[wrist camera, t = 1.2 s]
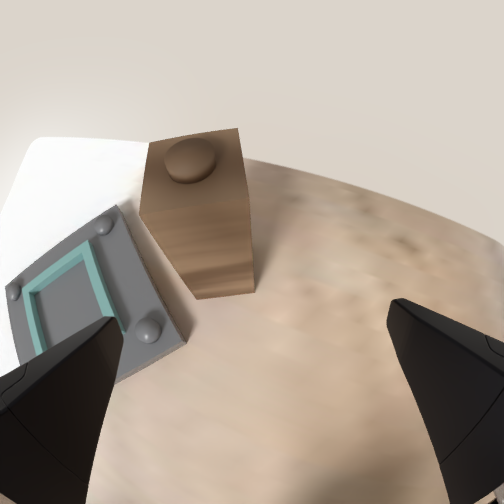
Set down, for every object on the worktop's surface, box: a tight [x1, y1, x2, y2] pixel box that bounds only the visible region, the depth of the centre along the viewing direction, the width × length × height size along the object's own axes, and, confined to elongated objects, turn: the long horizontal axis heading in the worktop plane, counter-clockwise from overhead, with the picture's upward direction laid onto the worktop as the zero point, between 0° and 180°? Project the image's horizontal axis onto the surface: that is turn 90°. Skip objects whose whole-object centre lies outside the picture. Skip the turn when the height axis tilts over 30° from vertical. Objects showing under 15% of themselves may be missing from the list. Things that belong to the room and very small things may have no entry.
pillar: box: [139, 128, 255, 300], centre depth 18 cm, size 5×5×14 cm
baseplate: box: [5, 205, 187, 385], centre depth 22 cm, size 18×16×2 cm
